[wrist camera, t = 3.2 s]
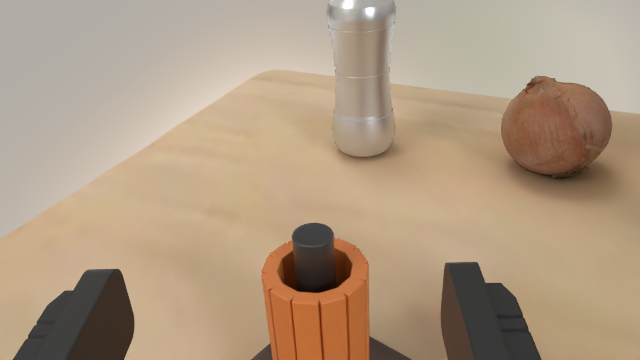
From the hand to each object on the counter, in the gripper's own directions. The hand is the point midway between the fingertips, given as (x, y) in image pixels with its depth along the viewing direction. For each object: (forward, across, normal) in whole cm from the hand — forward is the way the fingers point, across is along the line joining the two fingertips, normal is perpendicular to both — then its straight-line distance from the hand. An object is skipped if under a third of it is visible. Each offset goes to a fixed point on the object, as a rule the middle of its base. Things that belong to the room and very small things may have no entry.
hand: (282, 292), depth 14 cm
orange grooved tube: (+11, 0, +17) cm, 21 cm away
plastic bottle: (+43, -4, +18) cm, 47 cm away
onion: (+38, -22, +18) cm, 47 cm away
